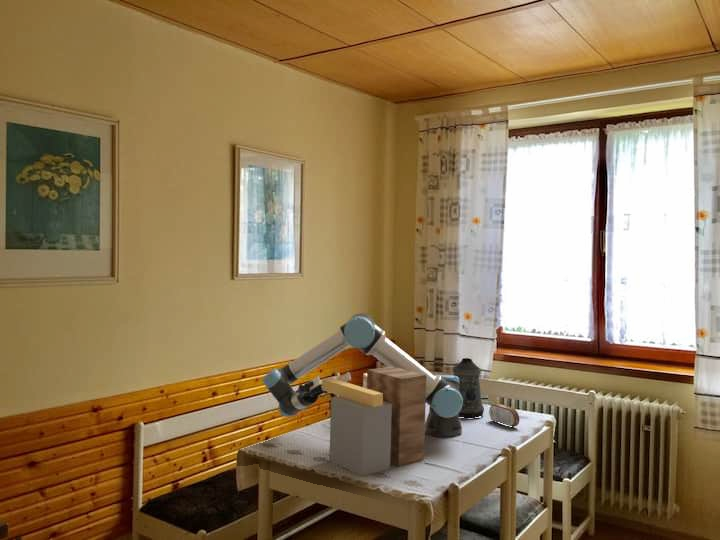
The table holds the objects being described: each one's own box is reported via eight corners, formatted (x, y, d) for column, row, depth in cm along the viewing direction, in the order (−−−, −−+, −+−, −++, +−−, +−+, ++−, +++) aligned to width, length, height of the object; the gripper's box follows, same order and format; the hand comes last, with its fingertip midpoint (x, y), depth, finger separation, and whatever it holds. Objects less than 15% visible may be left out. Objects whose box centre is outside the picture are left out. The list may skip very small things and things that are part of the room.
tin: (519, 429, 260) (520, 409, 259) (514, 430, 258) (515, 410, 257) (492, 420, 272) (493, 401, 272) (487, 421, 270) (488, 402, 270)
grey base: (329, 460, 214) (331, 397, 214) (356, 454, 222) (358, 393, 221) (362, 476, 200) (364, 408, 200) (389, 468, 208) (391, 403, 207)
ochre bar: (321, 389, 225) (322, 378, 225) (330, 388, 227) (330, 377, 227) (373, 407, 202) (373, 395, 202) (382, 405, 205) (382, 393, 205)
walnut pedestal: (365, 452, 225) (367, 369, 223) (389, 446, 232) (392, 366, 231) (398, 466, 211) (401, 378, 210) (423, 459, 218) (426, 374, 217)
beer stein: (459, 420, 269) (461, 363, 268) (436, 409, 287) (438, 356, 286) (491, 417, 276) (493, 361, 275) (466, 407, 294) (468, 354, 293)
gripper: (334, 401, 243) (364, 383, 228) (279, 411, 227) (308, 392, 213) (328, 383, 246) (358, 364, 231) (274, 391, 230) (303, 371, 215)
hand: (334, 377), depth 222 cm, fingers open, 13 cm apart
